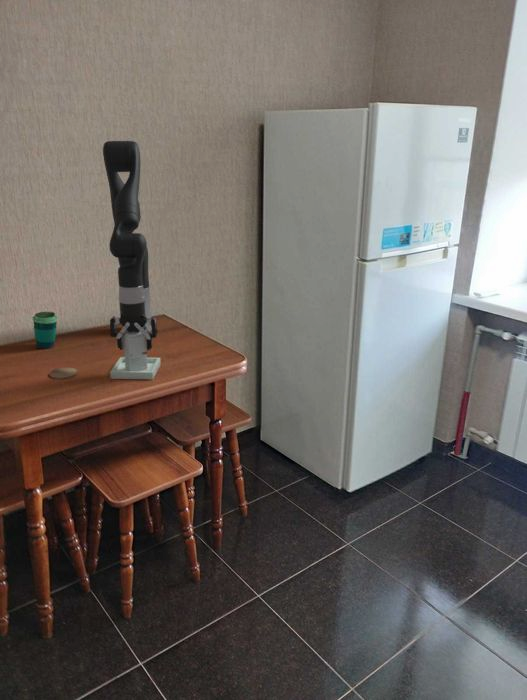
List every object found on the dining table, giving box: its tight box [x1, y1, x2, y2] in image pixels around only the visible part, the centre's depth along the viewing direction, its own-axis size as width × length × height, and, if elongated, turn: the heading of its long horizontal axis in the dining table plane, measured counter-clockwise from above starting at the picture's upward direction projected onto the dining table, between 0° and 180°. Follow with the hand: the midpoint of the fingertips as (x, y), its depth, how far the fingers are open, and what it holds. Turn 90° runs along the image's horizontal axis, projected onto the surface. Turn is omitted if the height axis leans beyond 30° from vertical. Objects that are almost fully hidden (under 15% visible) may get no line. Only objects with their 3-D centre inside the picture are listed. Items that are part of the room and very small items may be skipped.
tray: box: [109, 356, 162, 380], centre depth 180 cm, size 13×13×2 cm
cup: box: [32, 311, 58, 350], centre depth 199 cm, size 8×8×12 cm
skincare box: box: [122, 331, 148, 371], centre depth 178 cm, size 6×4×12 cm
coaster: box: [49, 367, 78, 380], centre depth 177 cm, size 8×8×1 cm
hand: (135, 349), depth 178 cm, fingers open, 8 cm apart
